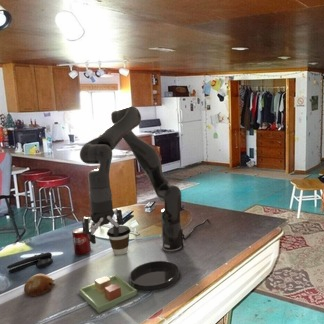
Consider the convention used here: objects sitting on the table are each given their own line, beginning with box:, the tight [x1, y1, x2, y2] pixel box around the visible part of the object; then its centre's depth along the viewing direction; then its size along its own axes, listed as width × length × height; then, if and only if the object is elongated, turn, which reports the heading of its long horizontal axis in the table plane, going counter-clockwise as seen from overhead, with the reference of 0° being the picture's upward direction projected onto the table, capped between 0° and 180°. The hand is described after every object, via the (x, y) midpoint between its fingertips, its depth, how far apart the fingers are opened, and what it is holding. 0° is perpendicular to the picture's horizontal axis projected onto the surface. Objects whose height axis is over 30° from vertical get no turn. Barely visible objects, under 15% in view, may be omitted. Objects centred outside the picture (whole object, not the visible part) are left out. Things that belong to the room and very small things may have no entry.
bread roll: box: [23, 273, 55, 297], centre depth 144 cm, size 10×10×8 cm
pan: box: [128, 260, 180, 292], centre depth 152 cm, size 20×20×3 cm
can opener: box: [6, 251, 54, 274], centre depth 161 cm, size 18×7×6 cm, turn 122°
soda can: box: [71, 226, 92, 257], centre depth 174 cm, size 7×7×12 cm
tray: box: [78, 274, 138, 314], centre depth 140 cm, size 15×17×2 cm
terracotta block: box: [104, 283, 121, 302], centre depth 137 cm, size 4×4×4 cm
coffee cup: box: [106, 225, 131, 256], centre depth 175 cm, size 11×11×12 cm
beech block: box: [94, 275, 111, 294], centre depth 143 cm, size 4×4×4 cm
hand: (104, 239), depth 134 cm, fingers open, 8 cm apart
